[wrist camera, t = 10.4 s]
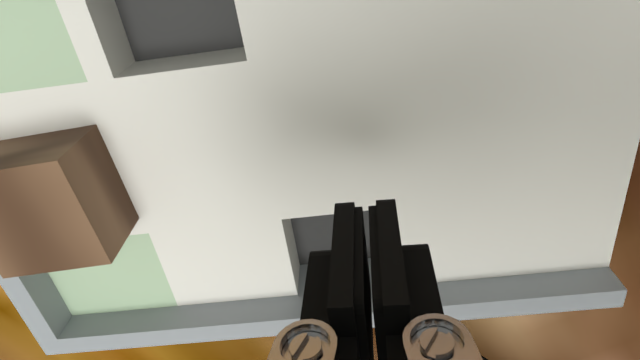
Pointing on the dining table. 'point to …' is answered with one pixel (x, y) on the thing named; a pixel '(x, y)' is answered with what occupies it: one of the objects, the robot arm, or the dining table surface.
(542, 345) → the dining table surface
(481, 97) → the trap box
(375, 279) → the robot arm
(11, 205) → the walnut block
